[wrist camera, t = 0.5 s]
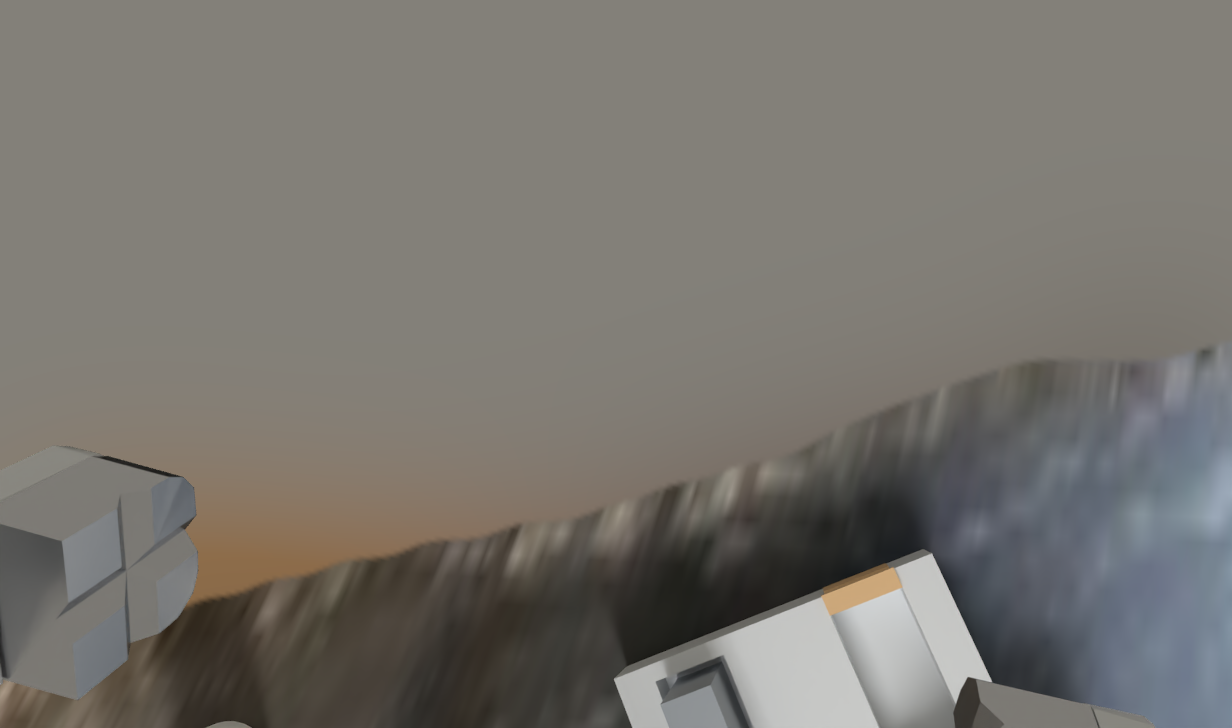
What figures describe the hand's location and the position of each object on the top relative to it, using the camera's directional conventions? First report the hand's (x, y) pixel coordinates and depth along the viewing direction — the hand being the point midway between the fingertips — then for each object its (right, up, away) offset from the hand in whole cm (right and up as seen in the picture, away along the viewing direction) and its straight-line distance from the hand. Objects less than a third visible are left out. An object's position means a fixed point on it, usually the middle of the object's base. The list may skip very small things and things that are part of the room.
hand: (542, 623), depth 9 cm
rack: (+13, -18, +47) cm, 52 cm away
